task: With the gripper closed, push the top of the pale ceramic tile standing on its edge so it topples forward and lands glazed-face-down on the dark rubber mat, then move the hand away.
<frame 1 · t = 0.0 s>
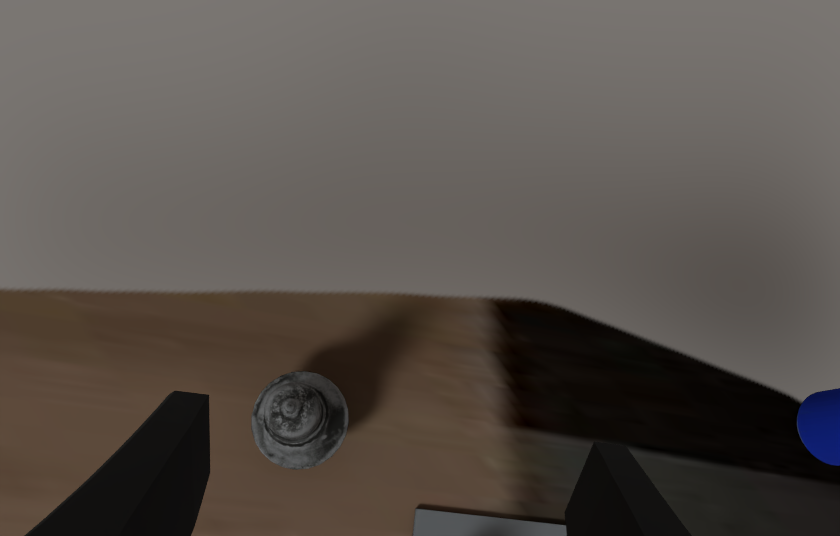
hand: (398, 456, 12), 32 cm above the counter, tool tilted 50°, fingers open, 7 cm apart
beverage can: (823, 428, 47), on the counter
dark grey upright figure: (303, 423, 44), on the counter
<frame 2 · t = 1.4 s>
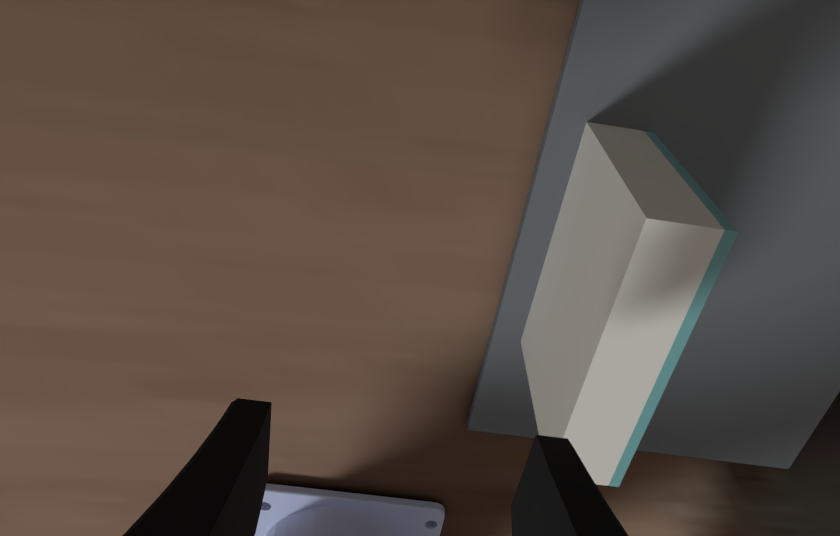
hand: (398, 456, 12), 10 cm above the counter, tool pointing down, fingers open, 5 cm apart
tile: (580, 247, 21), resting on mat
mat: (711, 260, 21), on the counter
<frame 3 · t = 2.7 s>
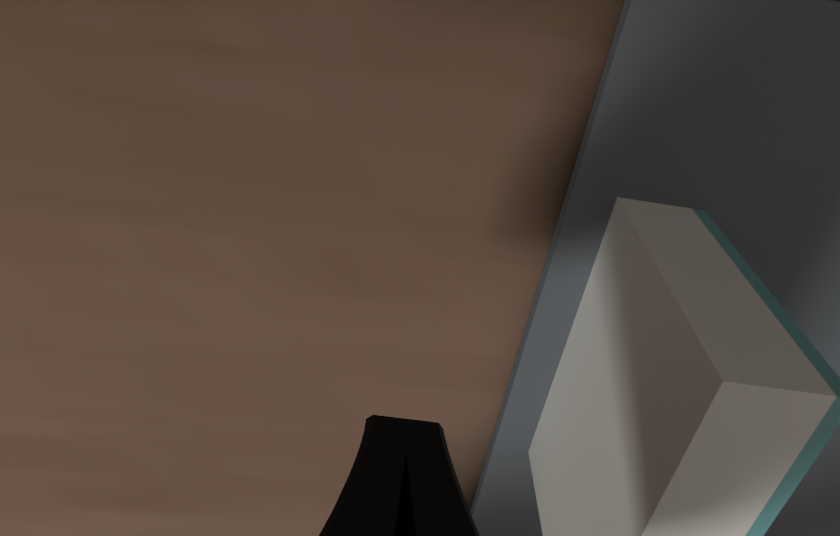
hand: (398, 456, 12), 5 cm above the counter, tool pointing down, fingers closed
tile: (605, 345, 16), resting on mat
mat: (768, 358, 17), on the counter
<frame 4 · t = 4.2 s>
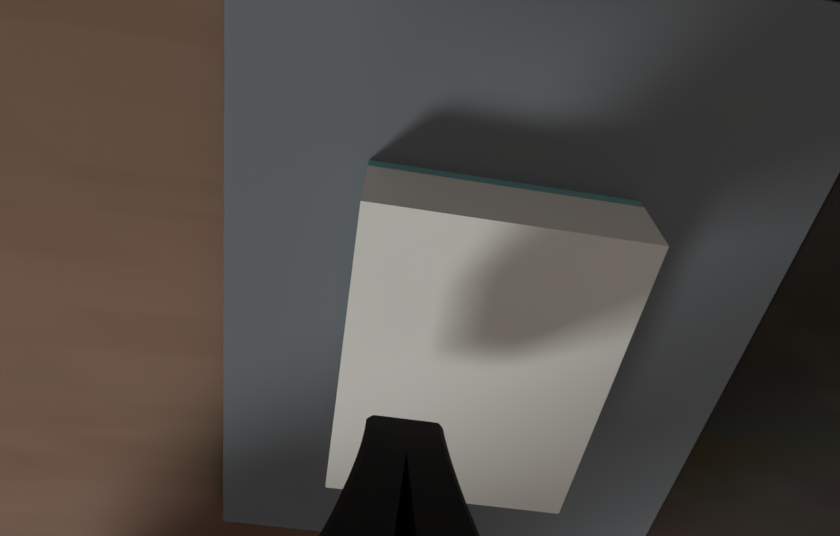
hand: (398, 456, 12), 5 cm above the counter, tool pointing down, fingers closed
tile: (345, 336, 15), point 1 cm above the counter, tilted 90°, touching mat
mat: (486, 320, 17), on the counter
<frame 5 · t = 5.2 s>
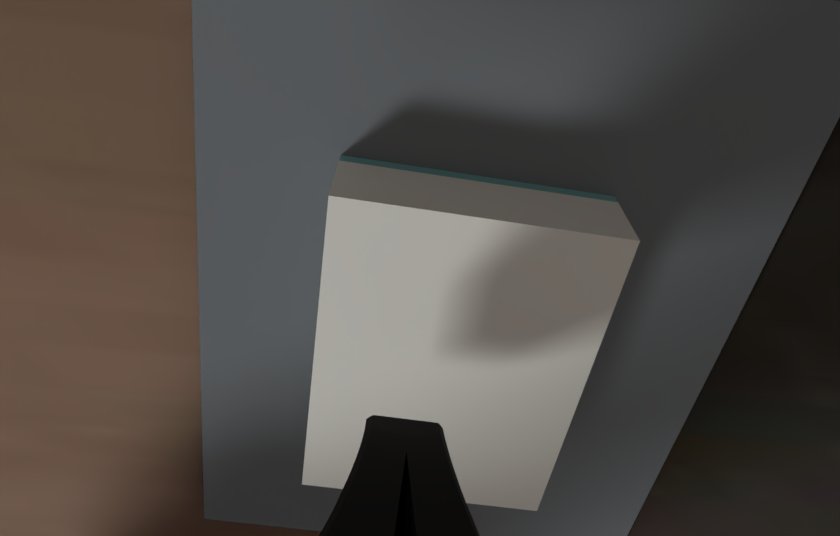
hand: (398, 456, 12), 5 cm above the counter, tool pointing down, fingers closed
tile: (319, 333, 15), point 1 cm above the counter, tilted 90°, touching mat
mat: (464, 317, 17), on the counter
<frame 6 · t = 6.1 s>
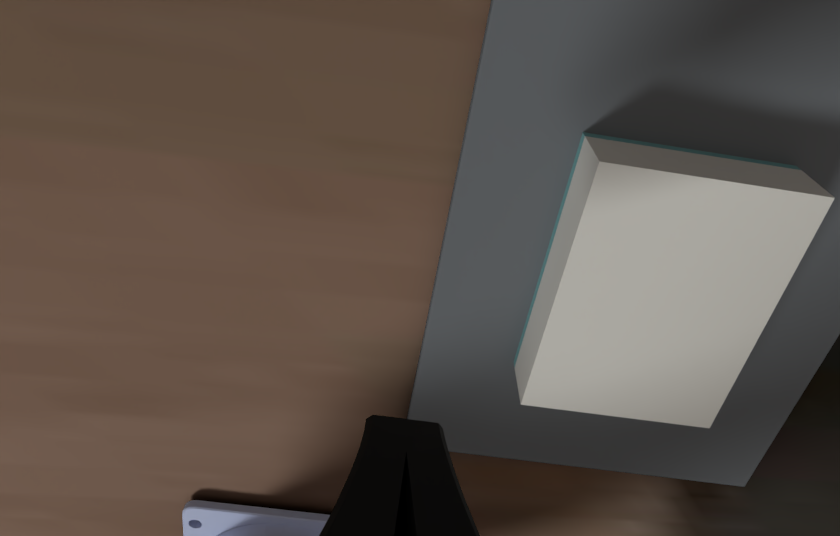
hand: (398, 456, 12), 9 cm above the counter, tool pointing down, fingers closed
tile: (549, 277, 19), point 1 cm above the counter, tilted 90°, touching mat
mat: (652, 268, 20), on the counter
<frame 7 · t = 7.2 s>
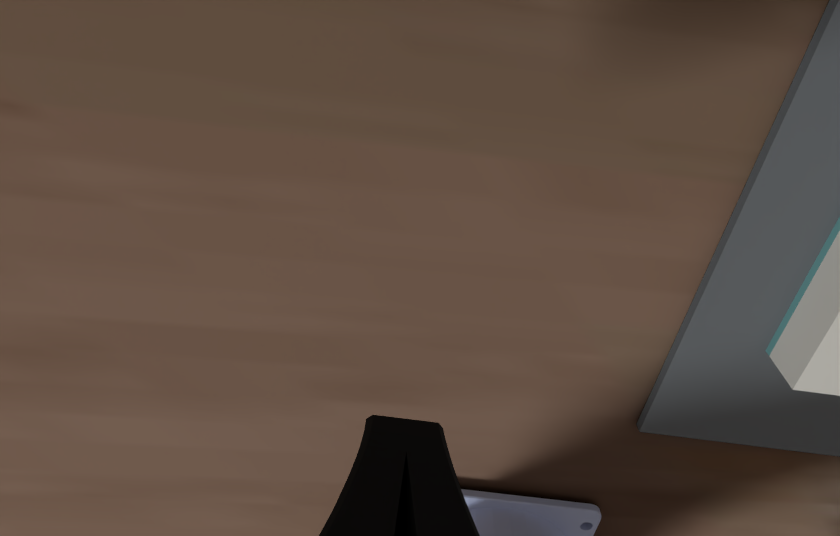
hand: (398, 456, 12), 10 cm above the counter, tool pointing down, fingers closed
tile: (835, 269, 20), point 1 cm above the counter, tilted 90°, touching mat
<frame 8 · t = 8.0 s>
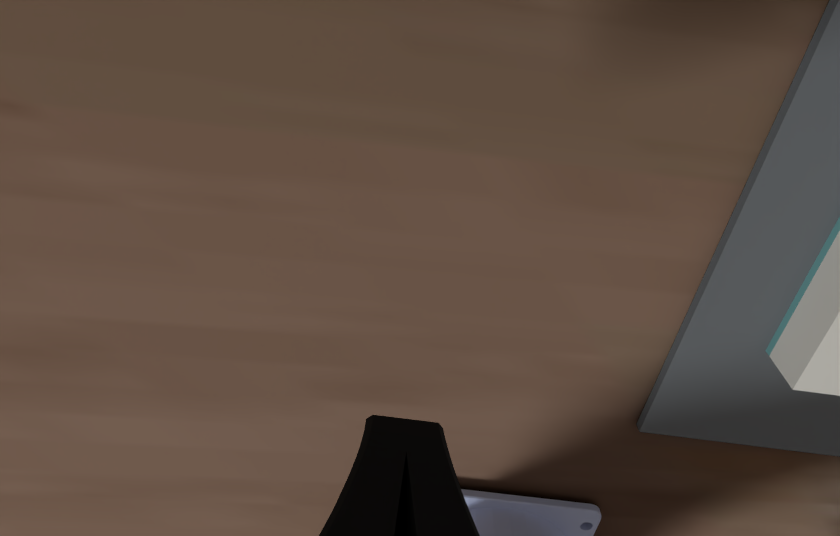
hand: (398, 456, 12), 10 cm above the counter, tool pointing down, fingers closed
tile: (835, 269, 20), point 1 cm above the counter, tilted 90°, touching mat
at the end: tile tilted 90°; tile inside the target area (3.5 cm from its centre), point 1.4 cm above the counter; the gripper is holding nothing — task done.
